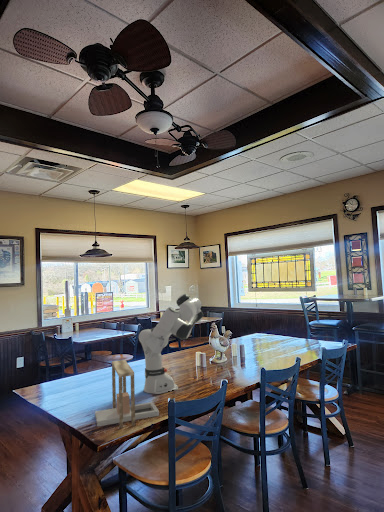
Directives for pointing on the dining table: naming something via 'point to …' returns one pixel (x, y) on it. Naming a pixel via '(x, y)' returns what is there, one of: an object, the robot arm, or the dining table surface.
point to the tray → (140, 412)
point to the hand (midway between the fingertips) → (147, 356)
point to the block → (124, 403)
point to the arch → (123, 388)
